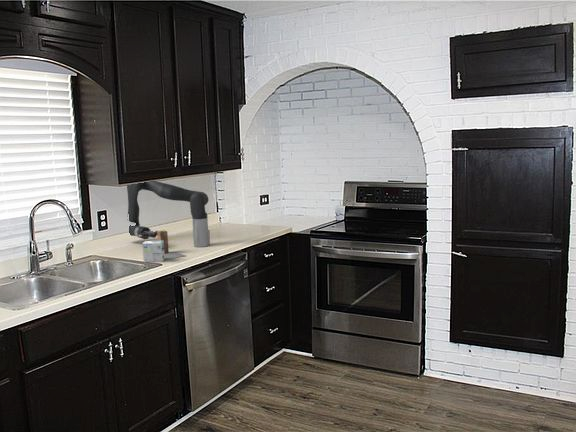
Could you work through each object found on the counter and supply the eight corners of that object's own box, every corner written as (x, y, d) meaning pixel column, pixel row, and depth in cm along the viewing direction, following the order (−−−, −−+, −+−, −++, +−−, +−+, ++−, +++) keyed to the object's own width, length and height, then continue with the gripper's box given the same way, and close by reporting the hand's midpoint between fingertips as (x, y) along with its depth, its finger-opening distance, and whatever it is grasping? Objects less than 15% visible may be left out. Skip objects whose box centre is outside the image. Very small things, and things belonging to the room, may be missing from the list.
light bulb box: (165, 259, 316) (163, 240, 314) (162, 261, 309) (161, 242, 308) (145, 259, 316) (144, 240, 314) (143, 262, 309) (141, 243, 307)
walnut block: (165, 252, 334) (163, 230, 332) (168, 253, 330) (167, 231, 328) (158, 253, 331) (156, 231, 329) (161, 254, 328) (160, 232, 326)
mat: (175, 252, 332) (175, 252, 332) (186, 256, 321) (186, 255, 321) (156, 255, 325) (156, 255, 325) (167, 259, 314) (167, 259, 314)
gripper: (132, 227, 347) (143, 231, 333) (152, 225, 355) (164, 228, 341) (132, 239, 348) (144, 243, 334) (152, 236, 356) (165, 240, 342)
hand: (154, 235), depth 338 cm, fingers closed
